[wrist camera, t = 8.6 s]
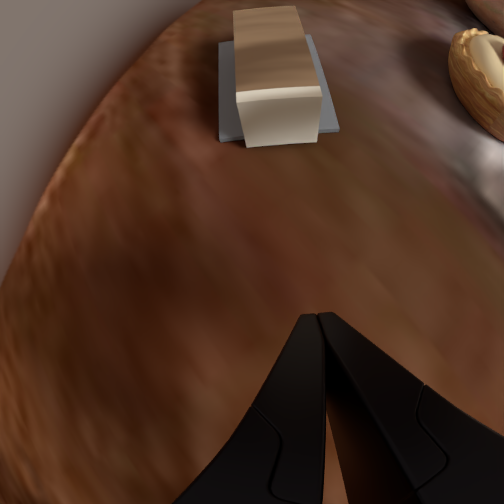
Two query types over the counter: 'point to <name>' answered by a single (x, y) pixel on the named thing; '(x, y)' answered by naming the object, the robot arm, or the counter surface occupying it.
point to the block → (275, 78)
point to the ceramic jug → (489, 14)
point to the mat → (227, 95)
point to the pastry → (479, 77)
